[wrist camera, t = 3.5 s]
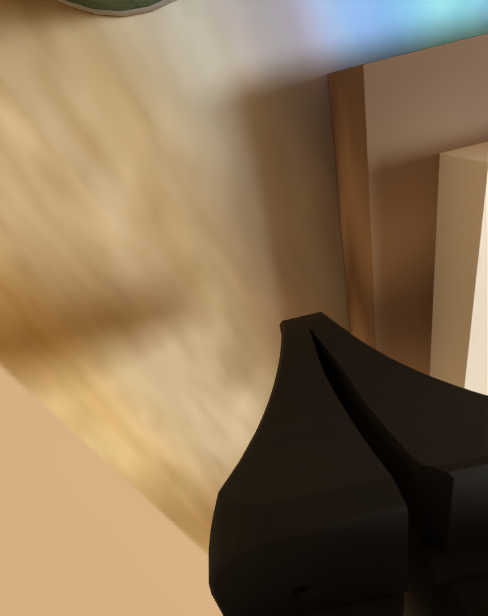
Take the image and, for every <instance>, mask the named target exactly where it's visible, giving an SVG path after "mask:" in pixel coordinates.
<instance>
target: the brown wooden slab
mask: <svg viewBox="0 0 488 616" xmlns="http://www.w3.org/2000/svg"><path fill="white" fill-rule="evenodd" d="M328 82H329V93H330V105H331V116H332V128H333V139H334V151H335V162H336V174H337V185H338V197H339V208H340V220H341V231H342V243H343V254H344V266H345V277H346V289H347V300H348V312H349V323H350V333H351V334H352V335H354V336H355V337H357V338H358V339H360V340H361V341H363V342H364V343H366V344H367V345H369V346H371V347H372V348H374V349H375V350H377V351H379V352H381V353H383V354H384V355H386V356H388V357H390V358H392V359H394V360H396V361H398V362H400V363H402V364H404V365H406V366H408V367H411V368H413V369H415V370H417V371H419V372H422V373H424V374H427V375H429V376H430V359H431V337H432V315H433V293H434V271H435V248H436V226H437V204H438V182H439V160H440V153H442V152H447V151H451V150H455V149H459V148H463V147H467V146H471V145H476V144H480V143H484V142H488V33H487V34H483V35H479V36H475V37H471V38H467V39H463V40H459V41H455V42H451V43H447V44H443V45H439V46H435V47H431V48H427V49H423V50H419V51H415V52H411V53H407V54H403V55H399V56H395V57H391V58H387V59H383V60H379V61H375V62H371V63H367V64H363V65H359V66H356V67H352V68H348V69H345V70H341V71H338V72H334V73H330V74H328Z"/></svg>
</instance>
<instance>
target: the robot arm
mask: <svg viewBox="0 0 488 616" xmlns="http://www.w3.org/2000/svg"><path fill="white" fill-rule="evenodd" d="M280 330H281V336H282V339H281V352H280V359H279V365H278V370H277V374H276V378H275V383H274V386H273V389H272V393H271V396H270V399H269V402H268V404H267V407H266V409H265V412H264V414H263V417H262V419H261V421H260V424H259V426H258V428H257V430H256V432H255V434H254V436H253V438H252V440H251V441H250V443H249V445H248V447H247V449H246V451H245V452H244V454H243V456H242V458H241V459H240V461H239V463H238V464H237V466H236V467H235V469H234V470H233V472H232V473H231V475H230V476H229V478H228V479H227V481H226V482H225V484H224V485H223V487H222V488H221V489H220V491H219V493H218V497H217V501H216V506H215V510H214V515H213V520H212V526H211V533H210V543H209V585H210V589H211V594H212V596H213V598H214V599H215V601H216V603H217V605H218V607H219V609H220V610H221V612H222V614H223V616H404V615H405V616H488V395H484V394H481V393H477V392H474V391H471V390H468V389H465V388H462V387H459V386H456V385H453V384H450V383H448V382H445V381H442V380H439V379H437V378H434V377H431V376H429V375H427V374H424V373H422V372H419V371H417V370H415V369H413V368H411V367H408V366H406V365H404V364H402V363H400V362H398V361H396V360H394V359H392V358H390V357H388V356H386V355H384V354H383V353H381V352H379V351H377V350H375V349H374V348H372V347H371V346H369V345H367V344H366V343H364V342H363V341H361V340H360V339H358V338H357V337H355V336H354V335H352V334H351V333H349V332H348V331H346V330H345V329H344V328H342V327H341V326H339V325H338V324H337V323H335V322H334V321H333V320H331V319H330V318H329V317H327V316H326V315H325V314H323V313H322V312H319V313H315V314H311V315H306V316H302V317H298V318H293V319H289V320H285V321H282V322H281V324H280Z"/></svg>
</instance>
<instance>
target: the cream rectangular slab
mask: <svg viewBox="0 0 488 616" xmlns="http://www.w3.org/2000/svg"><path fill="white" fill-rule="evenodd" d="M430 376H431V377H434V378H437V379H439V380H442V381H445V382H448V383H450V384H453V385H456V386H459V387H462V388H465V389H468V390H471V391H474V392H477V393H481V394H484V395H488V142H484V143H480V144H476V145H471V146H467V147H463V148H459V149H455V150H451V151H447V152H442V153H440V160H439V182H438V204H437V226H436V248H435V271H434V293H433V315H432V337H431V359H430Z"/></svg>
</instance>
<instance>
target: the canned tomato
mask: <svg viewBox="0 0 488 616" xmlns="http://www.w3.org/2000/svg"><path fill="white" fill-rule="evenodd" d="M58 1H60V2H61V3H63V4H65V5H68V6H71V7H74V8H77V9H81V10H84V11H87V12H91V13H94V14H98V15H113V16H130V15H135V14H141V13H147V12H152V11H154V10H156V9H159V8H161V7H163V6H165V5H167V4H169V3H172V2H174V1H176V0H58Z"/></svg>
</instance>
